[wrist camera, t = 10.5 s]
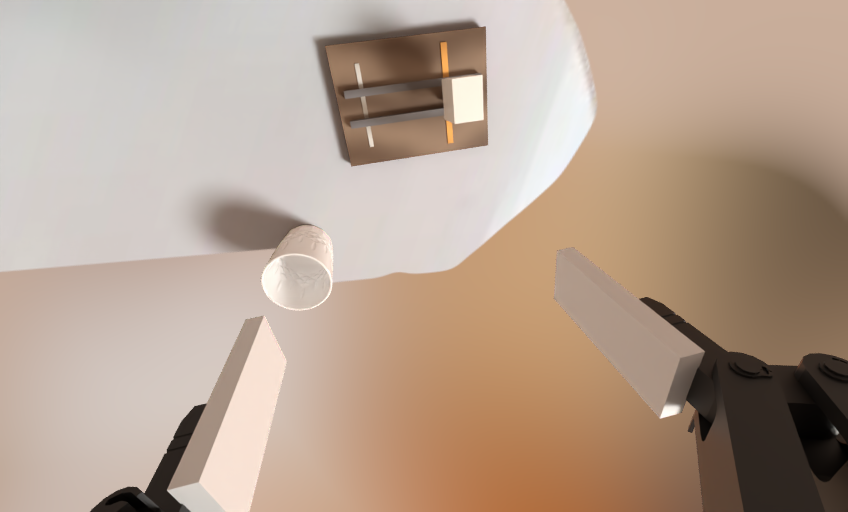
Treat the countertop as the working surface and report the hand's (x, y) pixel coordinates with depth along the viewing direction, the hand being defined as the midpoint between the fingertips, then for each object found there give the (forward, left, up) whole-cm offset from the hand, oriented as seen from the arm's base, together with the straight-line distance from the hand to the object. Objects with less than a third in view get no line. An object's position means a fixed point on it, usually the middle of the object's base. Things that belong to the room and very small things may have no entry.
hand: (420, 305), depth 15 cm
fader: (-6, +9, -31) cm, 33 cm away
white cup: (+11, -12, -33) cm, 37 cm away
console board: (-6, +5, -33) cm, 34 cm away
